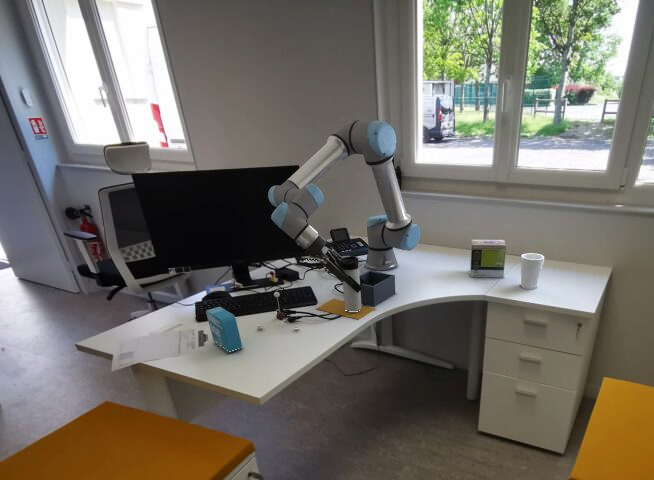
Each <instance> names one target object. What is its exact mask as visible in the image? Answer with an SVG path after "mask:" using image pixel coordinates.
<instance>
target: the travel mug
mask: <svg viewBox="0 0 654 480" xmlns="http://www.w3.org/2000/svg"><path fill="white" fill-rule="evenodd" d="M342 258H343V259H342V260H341V268H342V269H343V270H344V272H345V273H346V274H347V275H348V276H349V275H350V276H351V277H352V278H353V279H354V280H355V281H356V282H357V283H358V284H360V278H359V275H360V267H359V262H358V261H359V258H358V257H357V255H350V256H346V257H342ZM342 290H343V291H342V292H343V301H344V303H345V309H346V310H349V311H358V312H347V311H346V312H347V313H351V314H354V313H359V312H360V311H361V310H362V307H361V305H362V304H361V292H360V291H359V292H358V293H357V292H356V291H355V290H354V289H352V288H351V287H350V286H349V285H348V284H347V283H346V282H345V281H343V283H342ZM359 310H360V311H359Z"/></svg>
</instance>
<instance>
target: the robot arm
mask: <svg viewBox="0 0 654 480" xmlns="http://www.w3.org/2000/svg"><path fill="white" fill-rule="evenodd" d="M397 142H398V141H397V134H396V133H395V130H394V128H393V127H392V125H391V124H389V123H388V122H386V121H383V120H377V119H376V120H375V119H374V120H363V119H354V120H351V121H348V122H347V123H345V124H343V125H342V126H340V127H339V128H338V129H336V130H335V131H334V132H333V133H332V134H330V136H329V137H327V140H326V143H325V144H324V145H323V146H322V147H321V148H320V149H319V150H318V151H317V152H315V154H313V156H311V157H310V158H309V159H308V160H307V161H306V162H305V163H304V164H302V165H301V166H300V167H299V168H298V169H297V170H296V171H295V172H294V173H293V174H292V175H291V176H290V177H289V178H288V179H286V181H284V182H283V183H282V184H281V185H273V186H271V188H269V190H268V195H267V198H268V201H269V202H270V204H271V205H272V206H274V207H275V209H274V210H273V212H272V214H271V215H270V218H271V220H272V222H273V223H274V224H275V225H276V226H277V227H278V229H281V230H282V231H283V232H284V233H286V235H287V236H289V237H290V238H291V239H292V240H294V241H295V243H296V244H297V245H298V246H300V247H301V248H302V249H303V250H304V249H306V253H307V254H309V255H311V256H309V257H310V258H319V260H320V261H319V263H320V265H322V266H324V267H325V268H326V269H327V270H328V271H329V272H331V274H332V275H333V276H334V277H335V278H337V280H339V282H341V283H342V284H343V281H345V282H346V283H347V284H348V285H349V286H350V287H351V288H352V289H354V290H355V291H356V292H357V293H358V292H359V291H360V290H361V289H362V288H363V287H362V286H361V285H362V284H363V283H364V282H365V280H363V279H362V278H361V277H360V276H359V278H360V284H358V283H357V282H356V281H355V280H354V279H353V278H352V277H351V276H350V275H349V276H348V275H347V274H346V273H345V272H344V270H343V269H342V268H341V260H342V259H343V258H344V257H343V256H341V254H339V253H338V252H337V251H336V250H335V249H334V248H333V247H332V246H331V247H330V248H329V247H327V246H326V245H327V244H328V241H327V240H326V239H325V238H324V237H323V236H322V234H321V235H320V234H319V232H318V231H317V230H316V229H315V228H314V227H313V226H311V225H310V224H309V223H308V222H307V220H309V218H310V217H311V216H312V215H313V214H314V213H315V212H316V211H317V210H318V209H319V208H320V206H321V205H322V204H323V202H324V199H325V197H324V193H323V192H322V190H321V189H320V187H318V186H317V185H316V184H317V183H319V182H320V181H321V179H322V178H323V177H325V176H326V175H327V174H328V173H329V172H330V171H331V170H332V169H333V168H335V166H336V165H338V163H339V162H340V161H345V160H346V159H348V158H349V157H350V156H353V155H362V156H363V159H364V162H365V165H367V166H368V167H370V168H371V171H372V175H373V177H374V180H375V184H376V188H377V190H378V194H379V196H380V200H381V203H382V207H383V210H384V212H385V214H380V215H374V216H370V217H368V218H367V220H366V230H367V231H366V233H367V247H368V250H367V254H366V258H365V259H361V260H358V263H365V268H367V269H368V270H370V271H378V272H379V271H380V272H381V271H389V270H393V269H396V268H397V267H398V259H397V256H396V254H395V252H394V249H397V250H402V251H407V252H408V251H412V250H415V248H417V245H418V244H419V241H420V238H421V228H420V226H419V225H418V224H416V223H413V219H412V216H411V215H410V213H407V211H406V207H405V203H404V200H403V195H402V193H401V188H400V185H399V181H398V178H397V175H396V170H395V167H394V163H393V161H392V160H393V158H394V157H395V151H396V149H397V145H396V144H397Z"/></svg>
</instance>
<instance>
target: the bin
mask: <svg viewBox="0 0 654 480" xmlns="http://www.w3.org/2000/svg"><path fill="white" fill-rule="evenodd" d="M359 276H360V277H361V278H362V279H363V280H365V282H364V283H363V284H362V285H361V286H362V287H363V288H362V289H361V290H360V292H361V305H364V306H369V307H373V308H375V307H376V306H378V305H379V304H382V303H383V302H384V301H386V300H388V299H389V298H391V297H393V296H394V295H396V275H395V274H391V273H386V272H381V271H380V272H379V271H376V270H371V269H368V270H367V271H364V272H363V273H361V274H359Z"/></svg>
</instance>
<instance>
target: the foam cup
mask: <svg viewBox="0 0 654 480" xmlns="http://www.w3.org/2000/svg"><path fill="white" fill-rule="evenodd" d="M544 262H545V256H544V255H543V254H540V253H535V252H530V253H529V252H527V253H522V254H521V257H520V287H521V288H523V289H526V290H534V289H536V288H537V285H538V282H539V279H540V275H541V272H542V269H543V265H544V264H545V263H544Z"/></svg>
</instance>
